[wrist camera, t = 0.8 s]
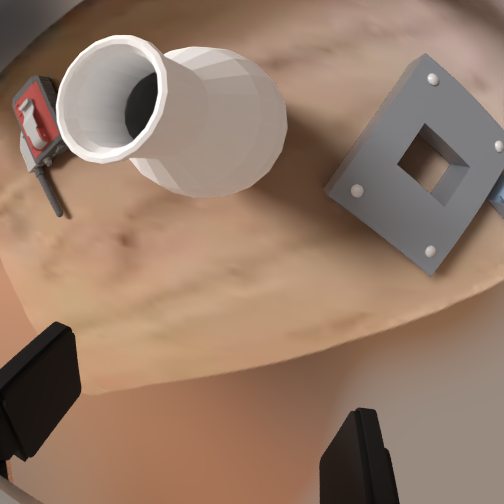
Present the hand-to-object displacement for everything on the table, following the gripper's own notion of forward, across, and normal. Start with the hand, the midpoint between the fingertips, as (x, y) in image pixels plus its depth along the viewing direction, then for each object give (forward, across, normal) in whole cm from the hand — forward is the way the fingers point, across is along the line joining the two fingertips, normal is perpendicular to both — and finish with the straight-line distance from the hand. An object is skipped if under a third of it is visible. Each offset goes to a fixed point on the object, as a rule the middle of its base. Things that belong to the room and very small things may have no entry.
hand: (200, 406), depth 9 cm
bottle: (+28, +5, -8) cm, 29 cm away
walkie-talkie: (+28, +31, -4) cm, 42 cm away
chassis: (+28, -15, -11) cm, 33 cm away
